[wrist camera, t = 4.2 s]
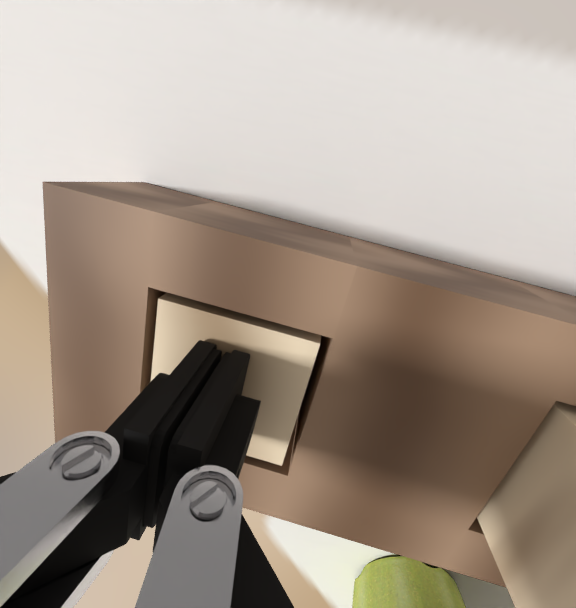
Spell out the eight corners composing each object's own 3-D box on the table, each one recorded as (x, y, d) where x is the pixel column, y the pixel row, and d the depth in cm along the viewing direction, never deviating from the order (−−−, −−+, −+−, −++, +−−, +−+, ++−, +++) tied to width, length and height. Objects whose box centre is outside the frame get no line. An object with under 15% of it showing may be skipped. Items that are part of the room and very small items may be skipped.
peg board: (732, 337, 12) (969, 430, 8) (583, 509, 16) (684, 641, 11) (143, 182, 13) (42, 181, 9) (131, 377, 17) (55, 450, 12)
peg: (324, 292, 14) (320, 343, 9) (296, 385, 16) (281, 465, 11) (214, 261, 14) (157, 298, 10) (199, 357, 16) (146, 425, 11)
